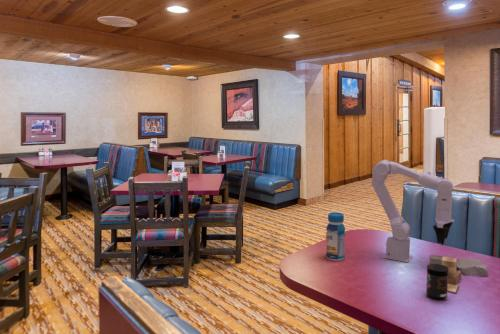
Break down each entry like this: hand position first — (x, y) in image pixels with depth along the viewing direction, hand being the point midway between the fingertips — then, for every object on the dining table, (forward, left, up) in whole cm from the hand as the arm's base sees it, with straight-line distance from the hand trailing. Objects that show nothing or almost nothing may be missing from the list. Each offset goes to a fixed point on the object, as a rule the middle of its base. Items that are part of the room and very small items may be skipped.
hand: (442, 240), depth 160 cm
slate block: (-1, -6, -10) cm, 12 cm away
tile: (+6, -23, -10) cm, 26 cm away
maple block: (+5, -15, -7) cm, 18 cm away
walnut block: (+5, -15, -11) cm, 19 cm away
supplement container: (+4, -32, -11) cm, 34 cm away
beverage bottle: (-40, -17, -11) cm, 45 cm away
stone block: (+10, 0, -11) cm, 15 cm away
